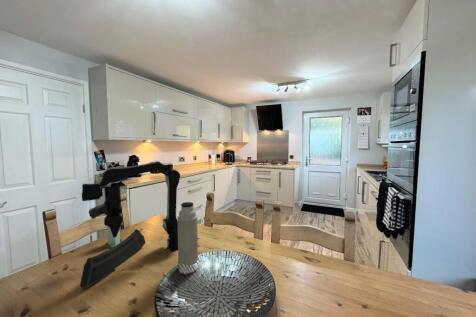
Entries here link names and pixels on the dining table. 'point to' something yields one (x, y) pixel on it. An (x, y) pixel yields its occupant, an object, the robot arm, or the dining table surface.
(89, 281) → the magazine
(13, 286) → the dining table surface
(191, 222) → the thermos bottle
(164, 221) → the robot arm
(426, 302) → the dining table surface
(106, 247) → the rack
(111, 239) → the pale green block
